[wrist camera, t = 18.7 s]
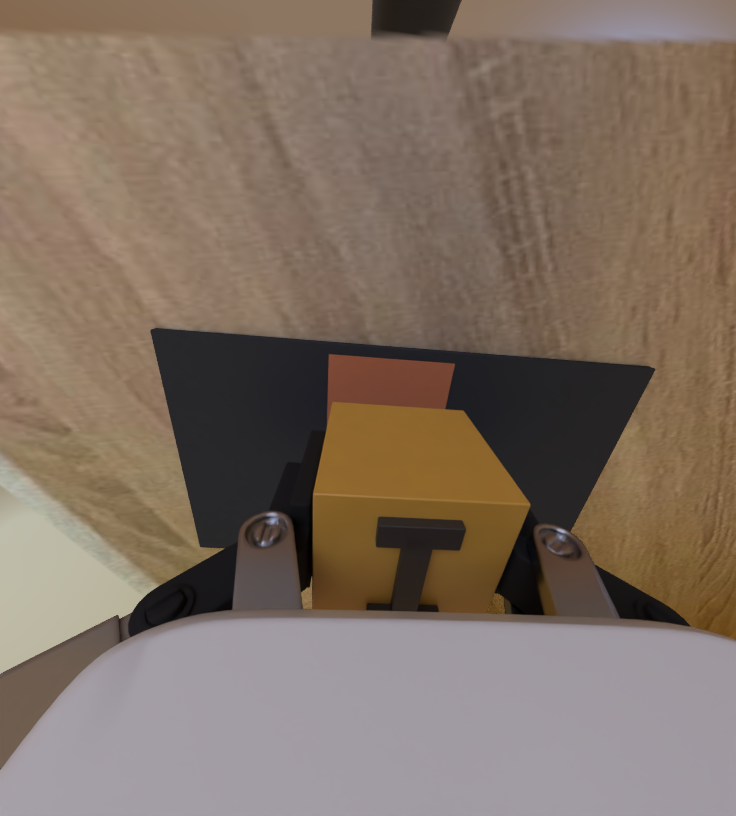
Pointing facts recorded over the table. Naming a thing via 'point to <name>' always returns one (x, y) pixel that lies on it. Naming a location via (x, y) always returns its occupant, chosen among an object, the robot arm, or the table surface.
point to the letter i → (410, 512)
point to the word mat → (380, 385)
